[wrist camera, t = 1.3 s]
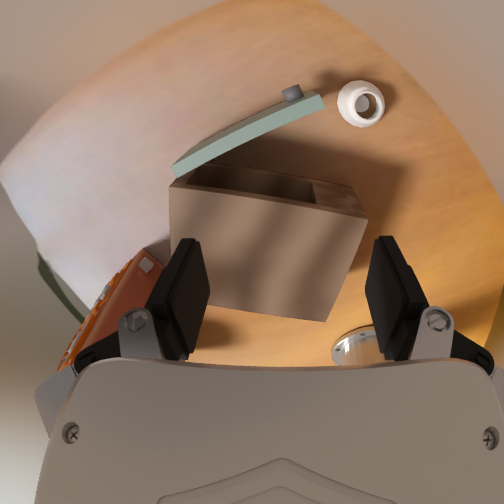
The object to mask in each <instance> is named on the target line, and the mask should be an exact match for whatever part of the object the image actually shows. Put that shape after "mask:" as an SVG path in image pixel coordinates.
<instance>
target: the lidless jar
mask: <svg viewBox="0 0 504 504" xmlns="http://www.w3.org/2000/svg"><path fill="white" fill-rule="evenodd" d="M364 93H370V94H372V95H373V96H375V98H376V102H377V108H376V111H375V113H374V114H373V115H372V116H371V117H370V118H368V119H365V118H362V117H360V116H359V115H358V114H357V112H364V111H366V110H367V109H368V107H369V101H368V99H367V97H365V96H364V95H361V94H364ZM337 104H338V109H339V112H340V113H341V115H342V116H343V118H344V119H345V120H346V121H348V122H349V123H350V124H352V125H354V126H358V127H370V126H372V125H374V124H376V123H377V122H378V121H379V120H380V119H381V117H382V116H383V113H384V109H385V103H384V97H383V95H382V94H381V92H380V90H379V89H378V88H377V87H375V86H374V85H373V84H372V83H369V82H366V81H363V80H358V81H351V82H349V83H348V84H346V85H344V86H343V88H342V89H341V91H340V92H339V95H338V100H337ZM356 111H357V112H356Z"/></svg>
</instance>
